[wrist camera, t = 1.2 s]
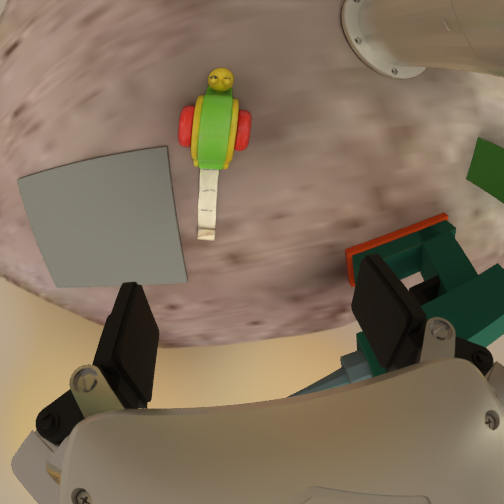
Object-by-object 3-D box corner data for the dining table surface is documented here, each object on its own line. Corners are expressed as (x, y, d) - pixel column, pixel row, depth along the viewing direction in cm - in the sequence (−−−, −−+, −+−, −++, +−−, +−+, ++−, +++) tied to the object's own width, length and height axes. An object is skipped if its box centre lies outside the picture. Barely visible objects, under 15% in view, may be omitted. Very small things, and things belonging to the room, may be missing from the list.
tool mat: (19, 178, 25) (16, 180, 24) (167, 145, 26) (166, 147, 26) (58, 285, 35) (56, 287, 34) (187, 279, 36) (187, 282, 36)
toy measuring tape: (254, 73, 23) (263, 68, 18) (231, 237, 34) (233, 269, 28) (191, 68, 22) (182, 61, 17) (179, 233, 33) (171, 265, 27)
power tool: (266, 313, 41) (290, 436, 25) (252, 280, 38) (274, 419, 21) (441, 247, 38) (510, 329, 22) (444, 212, 35) (529, 293, 18)
